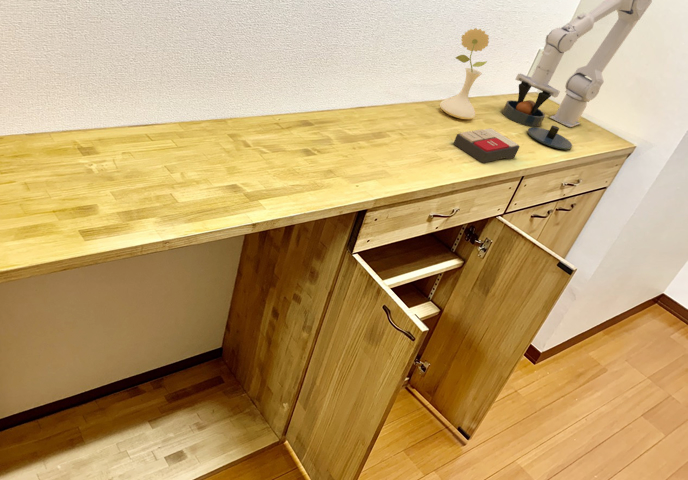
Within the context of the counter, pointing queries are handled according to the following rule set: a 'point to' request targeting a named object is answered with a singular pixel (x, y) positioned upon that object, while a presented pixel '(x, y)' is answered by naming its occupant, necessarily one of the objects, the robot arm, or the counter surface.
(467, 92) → the flower in vase
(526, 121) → the pot
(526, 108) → the orange capsule
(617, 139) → the counter surface
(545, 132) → the pot lid
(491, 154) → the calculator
